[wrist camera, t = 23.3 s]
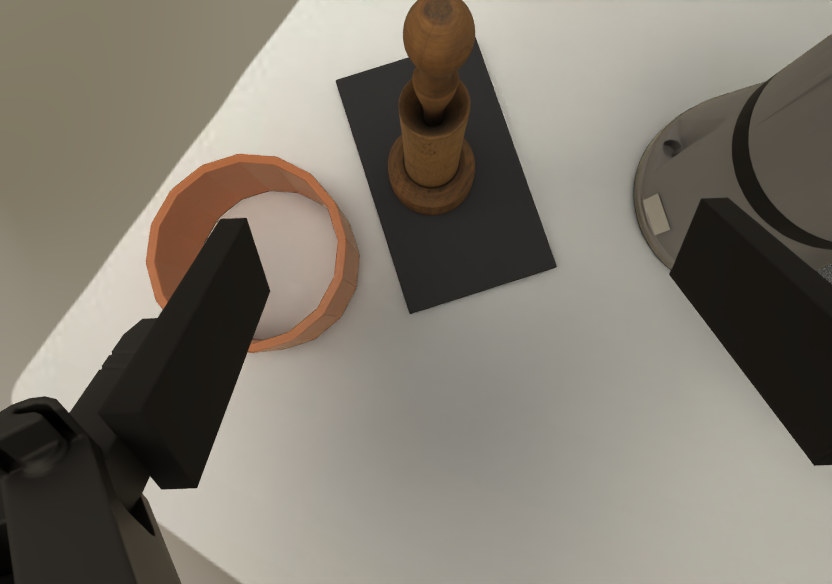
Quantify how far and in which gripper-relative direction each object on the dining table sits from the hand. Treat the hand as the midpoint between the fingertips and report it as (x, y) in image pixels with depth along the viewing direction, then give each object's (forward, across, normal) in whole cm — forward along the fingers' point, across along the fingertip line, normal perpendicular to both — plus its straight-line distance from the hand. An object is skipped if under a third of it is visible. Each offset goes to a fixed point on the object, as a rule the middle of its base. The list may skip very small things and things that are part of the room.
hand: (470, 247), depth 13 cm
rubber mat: (+22, +1, -8) cm, 24 cm away
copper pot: (+18, -13, -13) cm, 25 cm away
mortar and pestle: (+22, 0, -8) cm, 23 cm away
